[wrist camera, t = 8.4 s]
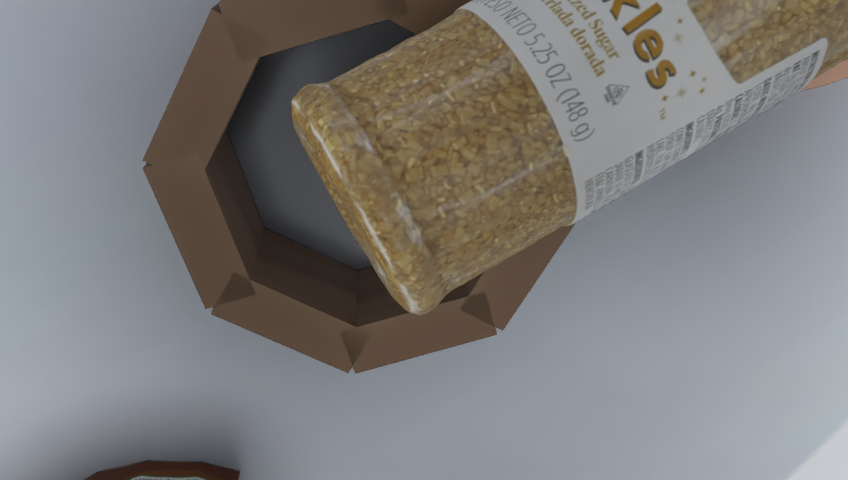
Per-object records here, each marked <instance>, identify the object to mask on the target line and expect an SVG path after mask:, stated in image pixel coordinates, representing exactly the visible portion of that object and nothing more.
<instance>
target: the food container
mask: <svg viewBox="0 0 848 480" xmlns="http://www.w3.org/2000/svg"><path fill="white" fill-rule="evenodd" d="M239 474H240V471H236V470H232V469H228V468H224V467H220V466H216V465H212V464H208V463H204V462H188V461H143V462H139V463H135V464H130V465H126V466H121V467H117V468H113V469H108V470H104V471H100V472H97V473H95V474H93V475H91V476H89V477H88V478H86V479H84V480H239Z"/></svg>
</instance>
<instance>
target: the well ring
mask: <svg viewBox="0 0 848 480" xmlns="http://www.w3.org/2000/svg"><path fill="white" fill-rule="evenodd" d="M470 1H472V0H221V1H220V2H219V3H218V4H217V5H216V6H214V7H213V8H212V9H211V11H210V13H209V16H208V18H207V20H206V22H205V24H204V27H203V29H202V31H201V33H200V35H199V38H198V40H197V42H196V44H195V46H194V49H193V51H192V53H191V55H190V57H189V60H188V62H187V64H186V66H185V68H184V71H183V73H182V75H181V77H180V79H179V82H178V84H177V86H176V88H175V90H174V93H173V95H172V97H171V99H170V101H169V104H168V106H167V108H166V110H165V112H164V115H163V117H162V119H161V121H160V123H159V126H158V128H157V130H156V132H155V134H154V137H153V139H152V141H151V143H150V145H149V148H148V150H147V152H146V154H145V157H144V159H143V161H145V162H147V163H146V165H145V166H144V167H143V170H144V172H145V174H146V177H147V179H148V181H149V183H150V186H151V188H152V190H153V192H154V195H155V197H156V199H157V201H158V203H159V206H160V208H161V210H162V212H163V215H164V217H165V219H166V221H167V224H168V226H169V228H170V230H171V233H172V235H173V237H174V239H175V242H176V244H177V246H178V248H179V250H180V253H181V255H182V257H183V259H184V262H185V264H186V266H187V268H188V271H189V273H190V275H191V277H192V280H193V282H194V284H195V286H196V289H197V291H198V293H199V295H200V297H201V300H202V302H203V304H204V306H205V309H207V308H211V307H213V310H212V313H211V314H212V315H214V316H217V317H219V318H221V319H224V320H226V321H228V322H231V323H233V324H235V325H238V326H240V327H242V328H245V329H247V330H249V331H252V332H254V333H256V334H259V335H261V336H263V337H266V338H268V339H270V340H273V341H275V342H277V343H280V344H282V345H284V346H286V347H289V348H291V349H293V350H296V351H298V352H300V353H303V354H305V355H307V356H310V357H312V358H314V359H317V360H319V361H321V362H324V363H326V364H328V365H331V366H333V367H335V368H338V369H340V370H342V371H345V372H347V373H349V371H350V369H351V368H352V366H353V368H354V371H355V374H356V373H359V372H363V371H367V370H370V369H374V368H377V367H381V366H385V365H388V364H392V363H396V362H399V361H403V360H406V359H410V358H414V357H417V356H421V355H425V354H428V353H432V352H435V351H439V350H443V349H446V348H450V347H454V346H457V345H461V344H464V343H468V342H472V341H475V340H479V339H483V338H486V337H490V336H494V335H497V333H496V329H495V327H497V328H499V329H501V330H503V329H504V328H505V327H506V325H507V324H508V322H509V321H510V319H511V318H512V316H513V315H514V313H515V312H516V310H517V309H518V307H519V306H520V304H521V303H522V301H523V300H524V298H525V297H526V295H527V294H528V293H529V291H530V290H531V288H532V287H533V285H534V284H535V282H536V281H537V279H538V278H539V276H540V275H541V273H542V272H543V270H544V269H545V267H546V266H547V264H548V263H549V261H550V260H551V259H552V257H553V256H554V254H555V253H556V251H557V250H558V248H559V247H560V245H561V244H562V242H563V241H564V239H565V238H566V236H567V235H568V233H569V232H570V230H571V229H572V227H573V226H574V225H575V223H574V224H572V225H569V226H561V227H560V228H558V229H557V230H555V231H553V232H552V233H550V234H548V235H546V236H544V237H543V238H541V239H539V240H537V241H536V242H535V243H533V244H532V245H530V246H528V247H527V248H525V249H523V250H521V251H520V252H518V253H516V254H514V255H512V256H510V257H508V258H506V259H505V260H503V261H502V262H501V263H499V264H498V265H496V266H493V267H491V268H489V269H487V270H485V271H484V272H482V273H481V274H479V275H478V276H476V277H475V278H473V279H471V280H469V281H468V282H466V283H465V284H463V285H461V286H458V287H457V288H455V289H454V290H452V291H451V292H449V293H448V294H447V295H446V296H445V297H444V298H443V299H442V300H441V301H440V303H439V304H438V305H437V306H436V307H435V308H434V309H433V310H431V311H430V312H428V313H426V314H422V315H418V314H414V313H411V312H408V311H407V310H405V309H404V308H403V307H402V306H401V305H400V304H399V303H398V302H397V301H396V300H395V299H394V298H393V297H392V296H391V294H390V293H389V291H388V290H387V288H386V287H385V285H384V284H383V282H382V281H381V279H380V278H379V276H378V274H377V273H376V271H375V270H374V268H373V266H372V267H369V268H365V269H362V270H358V271H356V270H354V269H352V268H350V267H348V266H346V265H344V264H341V263H339V262H337V261H335V260H333V259H331V258H329V257H326V256H324V255H322V254H320V253H318V252H316V251H314V250H312V249H309V248H307V247H305V246H303V245H301V244H299V243H297V242H294V241H292V240H290V239H288V238H286V237H284V236H282V235H280V234H277V233H275V232H273V231H271V230H269V229H267V228H265V227H264V226H263V223H262V221H261V218H260V215H259V213H258V210H257V208H256V205H255V203H254V200H253V198H252V195H251V192H250V190H249V187H248V185H247V182H246V180H245V177H244V175H243V172H242V170H241V167H240V164H239V162H238V159H237V157H236V154H235V152H234V149H233V147H232V144H231V142H230V139H229V136H228V134H227V131H226V129H227V127H228V125H229V123H230V121H231V119H232V117H233V115H234V113H235V111H236V109H237V107H238V105H239V103H240V101H241V99H242V97H243V94H244V92H245V90H246V88H247V86H248V84H249V82H250V80H251V78H252V76H253V74H254V72H255V70H256V68H257V66H258V64H259V62H260V59H261V57H262V56H265V55H268V54H272V53H275V52H279V51H282V50H285V49H289V48H292V47H296V46H299V45H302V44H306V43H309V42H312V41H316V40H319V39H323V38H326V37H329V36H333V35H336V34H340V33H343V32H346V31H350V30H353V29H357V28H360V27H363V26H367V25H370V24H374V23H377V22H380V21H384V20H387V19H390V20H391V21H393V22H395V23H397V24H398V25H400V26H402V27H404V28H406V29H407V30H409V31H411V32H413V33H414V34H416V35H418V34H420V33H422V32H424V31H426V30H428V29H430V28H431V27H433V26H435V25H436V24H438V23H439V22H441V21H443V20H444V19H446V18H447V17H449V16H451V15H452V14H454V12H455V11H456V10H457V9H458V8H460V7H461V6H463V5H465V4H467V3H468V2H470Z"/></svg>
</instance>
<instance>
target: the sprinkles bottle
mask: <svg viewBox="0 0 848 480" xmlns="http://www.w3.org/2000/svg"><path fill="white" fill-rule="evenodd" d="M846 60H848V0H472V1H470V2H468V3H467V4H465V5H463V6H461V7H460V8H458V9H457V10H456V11H455V12H454V14H452V15H451V16H449V17H447V18H446V19H444V20H443V21H441V22H439V23H438V24H436V25H435V26H433V27H431V28H430V29H428V30H426V31H424V32H422V33H420V34H418V35H415V36H413V37H411V38H408V39H406V40H405V41H403V42H401V43H400V44H398V45H396V46H395V47H393V48H392V49H390V50H389V51H387V52H384V53H381V54H379V55H377V56H375V57H373V58H371V59H369V60H368V61H366V62H364V63H362V64H360V65H359V66H357V67H355V68H353V69H352V70H350V71H348V72H346V73H344V74H342V75H340V76H338V77H336V78H334V79H333V80H330V81H327V82H324V83H321V84H313V83H311V84H308V85H306V86H304V87H303V88H301V89H300V90H299V91H298V93H297V94H296V95H295V96H294V97H293V99H292V121H293V126H294V129H295V131H296V133H297V136H298V138H299V139H300V141H301V143H302V145H303V147H304V149H305V151H306V152H307V154H308V156H309V158H310V159H311V161H312V163H313V165H314V167H315V168H316V170H317V172H318V174H319V176H320V178H321V180H322V181H323V183H324V185H325V187H326V189H327V191H328V192H329V194H330V196H331V198H332V200H333V201H334V203H335V205H336V207H337V208H338V210H339V212H340V214H341V216H342V217H343V219H344V221H345V223H346V225H347V226H348V228H349V230H350V231H351V233H352V235H353V236H354V238H355V239H356V241H357V243H358V244H359V246H360V247H361V249H362V250H363V252H364V253H365V254H366V256H367V257H368V259H369V260H370V262H371V264H372V266H373V268H374V270H375V271H376V273H377V274H378V276H379V278H380V279H381V281H382V282H383V284H384V285H385V287H386V288H387V290H388V291H389V293H390V294H391V296H392V297H393V298H394V299H395V300H396V301H397V302H398V303H399V304H400V305H401V306H402V307H403V308H404V309H405V310H407V311H408V312H411V313H414V314H418V315H422V314H426V313H428V312H430V311H431V310H433V309H434V308H435V307H436V306H437V305H438V304H439V303H440V301H441V300H442V299H443V298H444V297H445V296H446V295H447V294H448V293H449V292H451V291H452V290H454V289H455V288H457V287H458V286H461V285H463V284H465V283H466V282H468V281H469V280H471V279H473V278H475V277H476V276H478V275H479V274H481V273H482V272H484V271H485V270H487V269H489V268H491V267H493V266H496V265H498V264H499V263H501V262H502V261H503V260H505V259H506V258H508V257H510V256H512V255H514V254H516V253H518V252H520V251H521V250H523V249H525V248H527V247H528V246H530V245H532V244H533V243H535V242H536V241H537V240H539V239H541V238H543V237H544V236H546V235H548V234H550V233H552V232H553V231H555V230H557V229H558V228H560V227H561V226H569V225H572V224H574V223H576V222H578V221H579V220H581V219H583V218H584V217H586V216H588V215H589V214H591V213H593V212H595V211H596V210H598V209H600V208H601V207H603V206H605V205H606V204H608V203H610V202H611V201H613V200H615V199H617V198H618V197H620V196H622V195H623V194H625V193H627V192H628V191H630V190H632V189H634V188H635V187H637V186H639V185H640V184H642V183H644V182H646V181H647V180H649V179H651V178H652V177H654V176H656V175H657V174H659V173H661V172H662V171H664V170H666V169H667V168H669V167H671V166H673V165H674V164H676V163H678V162H679V161H681V160H683V159H684V158H686V157H688V156H689V155H691V154H693V153H694V152H696V151H698V150H700V149H701V148H703V147H705V146H706V145H708V144H710V143H711V142H713V141H715V140H716V139H718V138H720V137H722V136H723V135H725V134H727V133H728V132H730V131H732V130H733V129H735V128H737V127H739V126H740V125H742V124H744V123H745V122H747V121H749V120H751V119H752V118H754V117H756V116H758V115H759V114H761V113H763V112H764V111H766V110H768V109H770V108H771V107H773V106H775V105H777V104H778V103H780V102H782V101H783V100H785V99H787V98H789V97H790V96H792V95H794V94H795V93H797V92H799V91H800V90H802V89H803V88H804V87H805V86H807V85H808V84H809V83H810V82H811V81H812V80H814V79H815V78H817V77H819V76H820V75H822V74H823V73H824V72H826V71H828V70H830V69H831V68H834V67H835V66H836V65H838V64H839V63H840V62H843V61H846Z"/></svg>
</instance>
